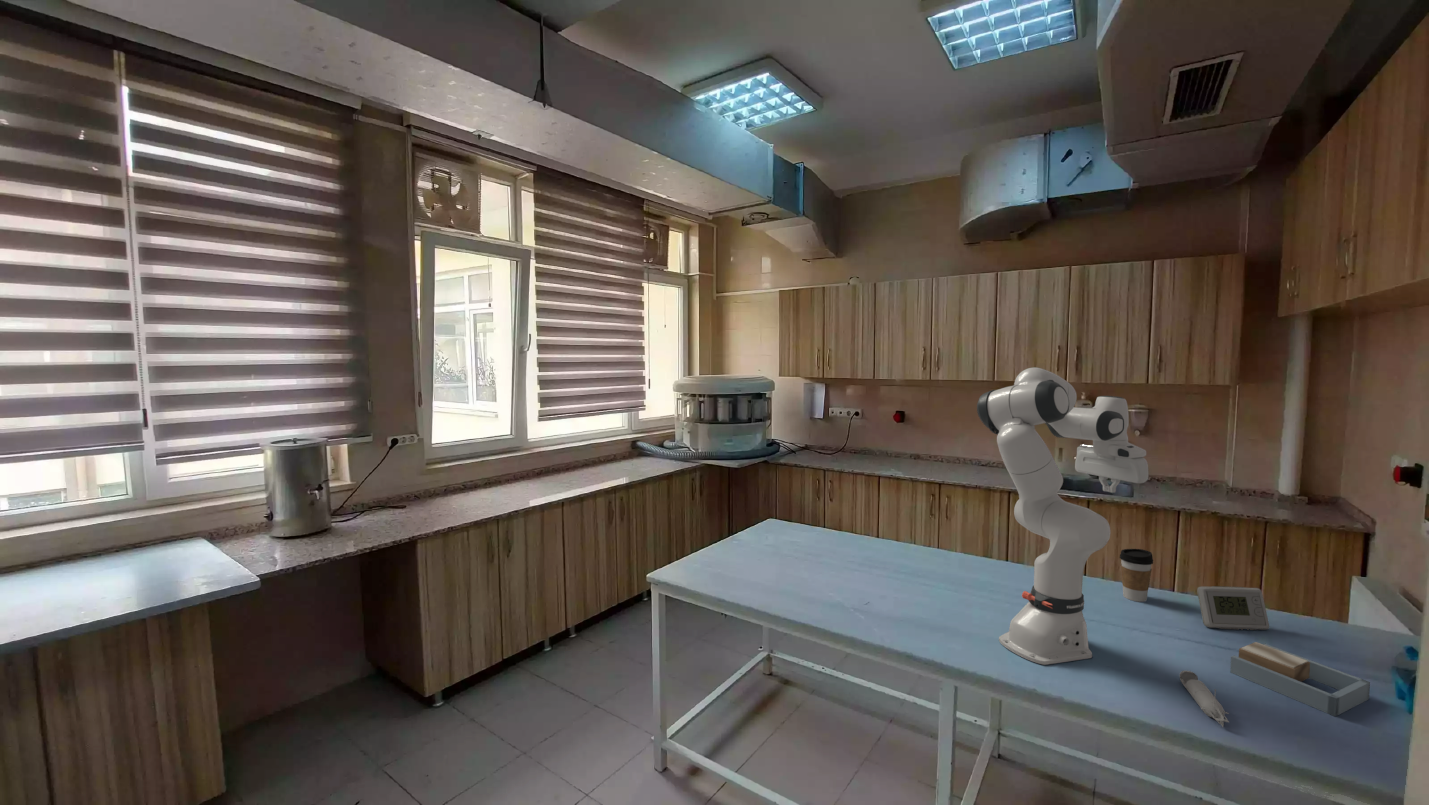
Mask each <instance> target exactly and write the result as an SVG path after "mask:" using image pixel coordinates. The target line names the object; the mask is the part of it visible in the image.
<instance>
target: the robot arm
mask: <svg viewBox="0 0 1429 805" xmlns="http://www.w3.org/2000/svg"><path fill="white" fill-rule="evenodd" d="M1077 396H1078V395H1077V391H1076V389H1075V388H1074V386H1073V385H1072V384H1071V383H1070V382H1068V381H1067V380H1065V378H1063V377H1061V376H1060V375H1058V374H1056V373H1055V372H1052V371H1049V370H1047V369H1044V368H1040V367H1036V366H1035V367H1029V368H1026V369H1023V370H1022V371H1020V372H1019V374H1017V376H1016V377H1015V380H1014V383H1013V385H1009V386H1005V387H1002V388H999V389H992V390H989V391H986V392H984V393H982V395H980V396H979V398H978V401H977V403H976V412H977V416H978V418H979V420H980V421H981V422H982V423H983V425H984V427H986V428H987V429H989V431H990V432H991V433H992V434H995V435H996V443H997V447H998V451H999V454H1000V457H1001V459H1002V461H1003V464H1004V467H1005V469H1006V470H1007V472H1008V474H1009V476H1010V478H1011V480H1012V482H1013V484H1014V486H1015V488H1016V491H1017V493H1018V498H1019V499H1018V500H1017V501H1016V503H1015V504H1014V509H1013V514H1014V518H1015V521H1016V522H1017V523H1018V524H1020V526H1022V527H1023V528H1025V529H1026V530H1027V531H1029V532H1031V533H1033V534H1036V535H1038V536H1041V537H1043V538H1046V539H1048V540H1049V547H1048V548H1049V549H1048V551H1047V552H1044V553H1042V554H1040V555H1039V556H1037V557H1036V558H1035V559H1034V562H1033V563H1034V568H1033V569H1034V570H1033V585H1032V587H1031V590H1030V592H1028V591H1026V590H1024V591H1022V594H1021V597H1022V598H1023V599H1025V600H1028V602H1027V603H1026V604H1025V605H1024V606H1023V607H1022V609H1020V611H1019V612H1018V613H1017V614H1016V615H1014V617H1013V618H1012V619H1011V620H1010V623H1009V628H1008V631H1007V632H1005V633H1003V634H1001V635H1000V636H999V637H998V641H999V643H1000V644H1001V645H1002V646H1003V647H1005V648H1006V649H1008V650H1009V651H1010V652H1012V653H1013V654H1015V655H1017V656H1019V657H1022V658H1023V659H1026V660H1028V661H1030V662H1033V663H1036V664H1039V665H1043V666H1045V665H1053V664H1059V663H1060V664H1061V663H1067V662H1072V661H1079V660H1087V659H1091V658H1092V657H1093V653H1092V651H1091V649H1090V648H1089V637H1088V628H1087V622H1086V619H1085V617H1084V614H1083V610H1085V609H1084V608H1085V607H1084V606H1085V598H1084V596H1085V595H1084V594H1083V581H1084V580H1083V579H1084V578H1083V577H1084V570H1085V565H1086V563H1087V561H1088V560H1089V558H1090V556H1092V554H1094V553H1095V552H1097V551H1100V550H1102V549H1103V548H1104V547H1105V546H1106V545H1107V544H1108V543H1109V540H1110V538H1111V526H1110V524H1109V522H1108V520H1107V519H1106V518H1105V517H1104V516H1102V515H1101V514H1099V513H1098V512H1095V511H1093V510H1092V509H1090V508H1088V507H1085V506H1082V505H1078V504H1075V503H1072V502H1068V501H1066V500H1064V499H1062V497H1060V496H1059V494H1058V492H1059V491H1060V489H1061V488H1062V486H1063V483H1064V477H1063V475H1062V472H1061V471H1060V469H1059V466H1058V465H1057V462H1056V461H1055V459H1054V457H1053V455H1052V452H1051V450H1050V449H1049V447H1048V445H1047V444H1046V442H1045V441H1044V440H1043V438H1042V437H1041V436H1040V434H1039V433H1038V431H1037V430H1036V426H1038V425H1042V424H1045V425H1046V426H1047V428H1048V430H1049V431H1050V433H1051V434H1052V436H1054V437H1055V438H1062V439H1064V438H1065V439H1068V438H1069V439H1078V440H1086V441H1092V444H1085V443H1083V444H1080V445H1079V446H1077V447H1076V457H1075V461H1074V470H1075V471H1076V472H1077V473H1080V474H1087V475H1092V476H1098V480H1099V482H1100V484H1101V485H1102V491H1103V492H1108V493H1112V494H1113V493H1114V494H1115V493H1116V492H1117V486H1118V485H1119V484H1120V482H1121V481H1123V482H1128V483H1134V484H1143V483H1147V481H1148V480H1149V463H1148V461H1147V459H1146V458H1145V457H1146V456H1147V450H1146V449H1144V448H1142V447H1140V446H1137V445H1135V444H1133V443H1131V442H1129V435H1128V433H1127V432H1128V429H1129V425H1130V423H1129V414H1130V413H1129V406H1128V402H1127V400H1126V398H1124V397H1122V396H1121V397H1120V396H1113V395H1100V396H1097V397H1096V400H1095V403H1094V406H1093V407H1075V406H1076V403H1077ZM1108 479H1110V482H1112V483H1111V485H1109V483H1108Z"/></svg>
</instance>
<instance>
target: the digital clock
mask: <svg viewBox="0 0 1429 805" xmlns="http://www.w3.org/2000/svg"><path fill="white" fill-rule="evenodd" d="M1196 591H1197V597H1198V602H1199V608H1200V613H1201V618H1202V624H1203V625H1204V626H1205V627H1207V628H1214V629H1220V630H1239V629H1241V630H1243V629H1247V630H1246V631H1256V630H1263V631H1264V630H1269V629H1270V623H1269V618H1268V617H1269V616H1268V614H1267V609H1266V605H1265V601H1264V596H1263V592H1262V589H1260V588H1259V587H1243V586H1219V585H1217V586H1216V585H1213V586H1198V587H1197V590H1196ZM1249 629H1250V630H1249Z"/></svg>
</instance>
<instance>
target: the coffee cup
mask: <svg viewBox="0 0 1429 805" xmlns="http://www.w3.org/2000/svg"><path fill="white" fill-rule="evenodd" d="M1119 559H1120V560H1121V561H1120V562H1121V563H1120V570H1121V582H1122V584H1121V585H1122V593H1123V594H1122V596H1123V597H1124V598H1125V599H1127V600H1130V601H1133V602H1138V603H1143V602H1147V599H1148V594H1149V588H1150V580H1151V575H1152V565H1153V564H1154V558H1153V554H1152V551H1148V550H1147V549H1142V548H1123V549H1122V550H1121V551H1120V554H1119Z"/></svg>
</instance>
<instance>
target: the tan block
mask: <svg viewBox="0 0 1429 805" xmlns="http://www.w3.org/2000/svg"><path fill="white" fill-rule="evenodd" d="M1263 644H1264V643H1260V642H1257V641H1255V642H1252V643H1250V644H1247V645H1244V646H1243V647H1240V648H1239V649H1238V657H1239V658H1242V659H1244V660H1247V661H1249V662H1252V663H1255V664H1257V665H1260V666H1262V667H1265V668H1267V669H1270V670H1272V671H1275V672H1277V673H1280V674H1282V675H1285V676H1287V677H1290V678H1292V679H1295V680H1297V681H1300V682H1302V683H1303V681H1306V680H1308V679H1309V673H1310V662H1308V661H1307V660H1304V659H1302V658H1299V657H1296V656H1293V655H1291V654H1288V653H1285V652H1282V651H1280V650H1277V649H1274V648H1271V647H1268V646H1266V645H1263Z"/></svg>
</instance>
